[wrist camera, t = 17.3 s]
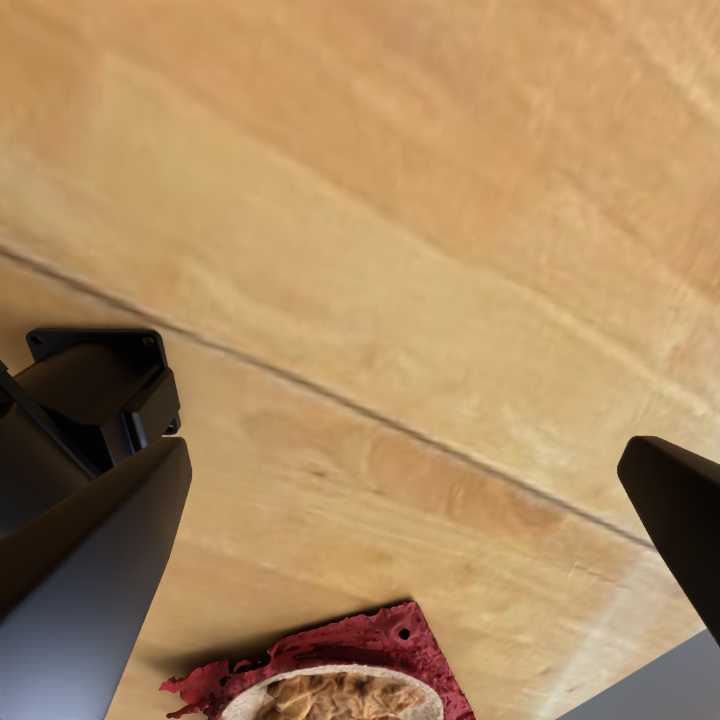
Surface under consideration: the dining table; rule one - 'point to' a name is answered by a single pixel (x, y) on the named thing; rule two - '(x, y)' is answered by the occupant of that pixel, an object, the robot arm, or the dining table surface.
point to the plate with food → (335, 676)
